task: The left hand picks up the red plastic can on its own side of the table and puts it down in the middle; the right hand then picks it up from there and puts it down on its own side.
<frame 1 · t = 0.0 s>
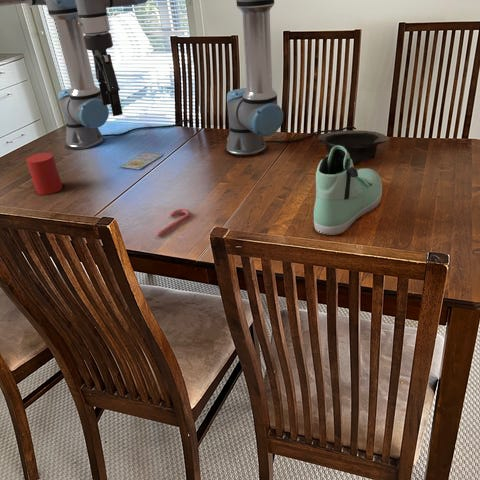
right hand: (112, 109, 143), 28 cm above the table, tool pointing down, fingers open, 13 cm apart
sneaker: (348, 208, 139), on the table
candy cane: (172, 224, 138), on the table
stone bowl: (350, 156, 172), on the table
baking ingredient package: (141, 161, 182), on the table
can: (49, 189, 166), on the table
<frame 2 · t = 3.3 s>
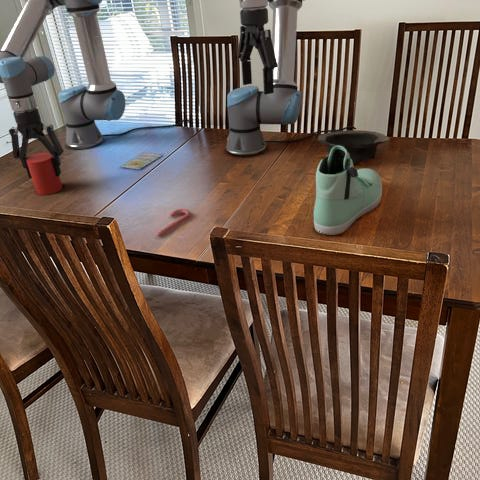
left hand: (45, 175, 163), 5 cm above the table, tool pointing down, fingers closed on can, 9 cm apart
right hand: (257, 88, 140), 31 cm above the table, tool pointing down, fingers open, 13 cm apart
can: (49, 189, 166), on the table, touching left hand
everything else where it was.
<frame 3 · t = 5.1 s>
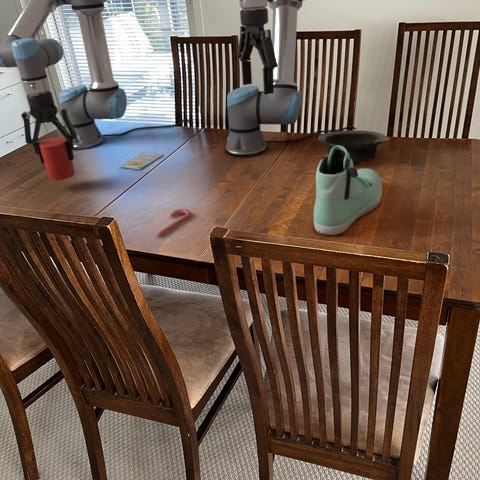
left hand: (58, 160, 161), 10 cm above the table, tool pointing down, fingers closed on can, 9 cm apart
right hand: (257, 88, 140), 31 cm above the table, tool pointing down, fingers open, 13 cm apart
can: (62, 174, 163), point 5 cm above the table, touching left hand
everything else where it was.
when the left hand's fingers open (6 cm above the table, at t = 7.2 s): can drops 1 cm, on the table.
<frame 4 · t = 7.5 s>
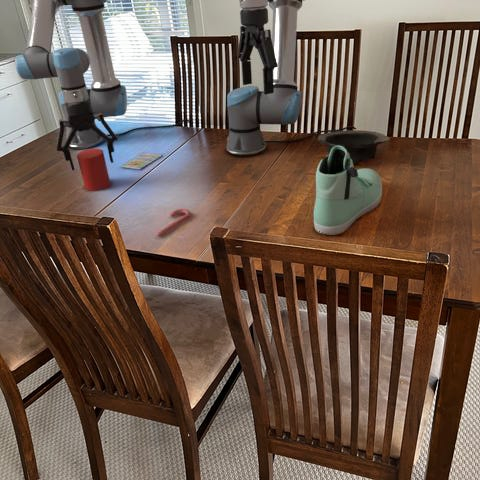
left hand: (92, 165, 162), 8 cm above the table, tool pointing down, fingers open, 12 cm apart
right hand: (257, 88, 140), 31 cm above the table, tool pointing down, fingers open, 13 cm apart
can: (97, 185, 166), on the table
everything else where it was.
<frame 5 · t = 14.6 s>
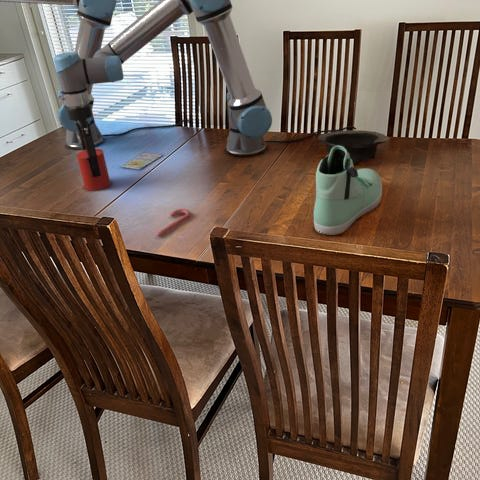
right hand: (94, 171, 163), 5 cm above the table, tool pointing down, fingers closed on can, 9 cm apart
can: (97, 185, 166), on the table, touching right hand
everything else where it was.
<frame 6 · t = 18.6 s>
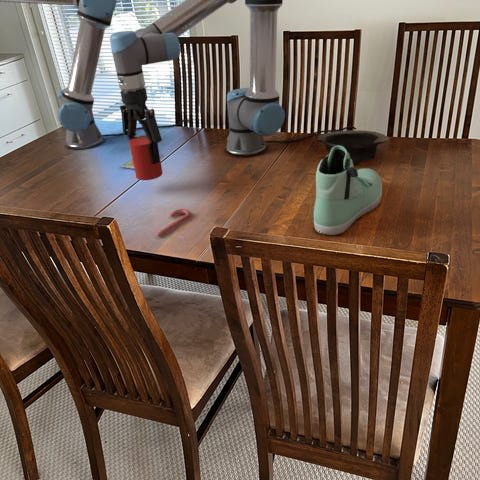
right hand: (146, 159, 154), 11 cm above the table, tool pointing down, fingers closed on can, 9 cm apart
can: (149, 174, 156), point 6 cm above the table, touching right hand
everything else where it was.
when the right hand's fingers open (6 cm above the table, at t = 22.5 s): can drops 1 cm, on the table.
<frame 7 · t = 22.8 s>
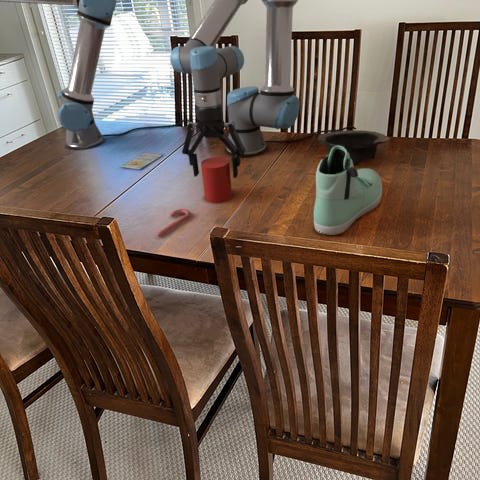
right hand: (216, 175, 148), 7 cm above the table, tool pointing down, fingers open, 12 cm apart
can: (218, 196, 152), on the table
everything else where it was.
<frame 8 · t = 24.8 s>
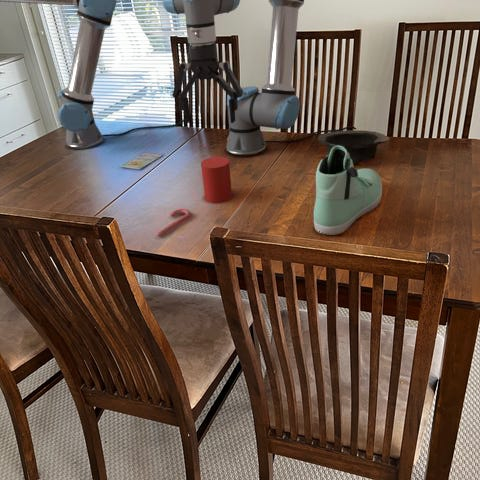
right hand: (210, 121, 139), 24 cm above the table, tool pointing down, fingers open, 13 cm apart
nothing on the table moved.
at the end: can inside the target area (0.2 cm from its centre), on the table; can tilted 0°; the two hands never held the can at the same time; the left hand is holding nothing; the right hand is holding nothing; can at rest at the end (0.0 cm/s) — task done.
